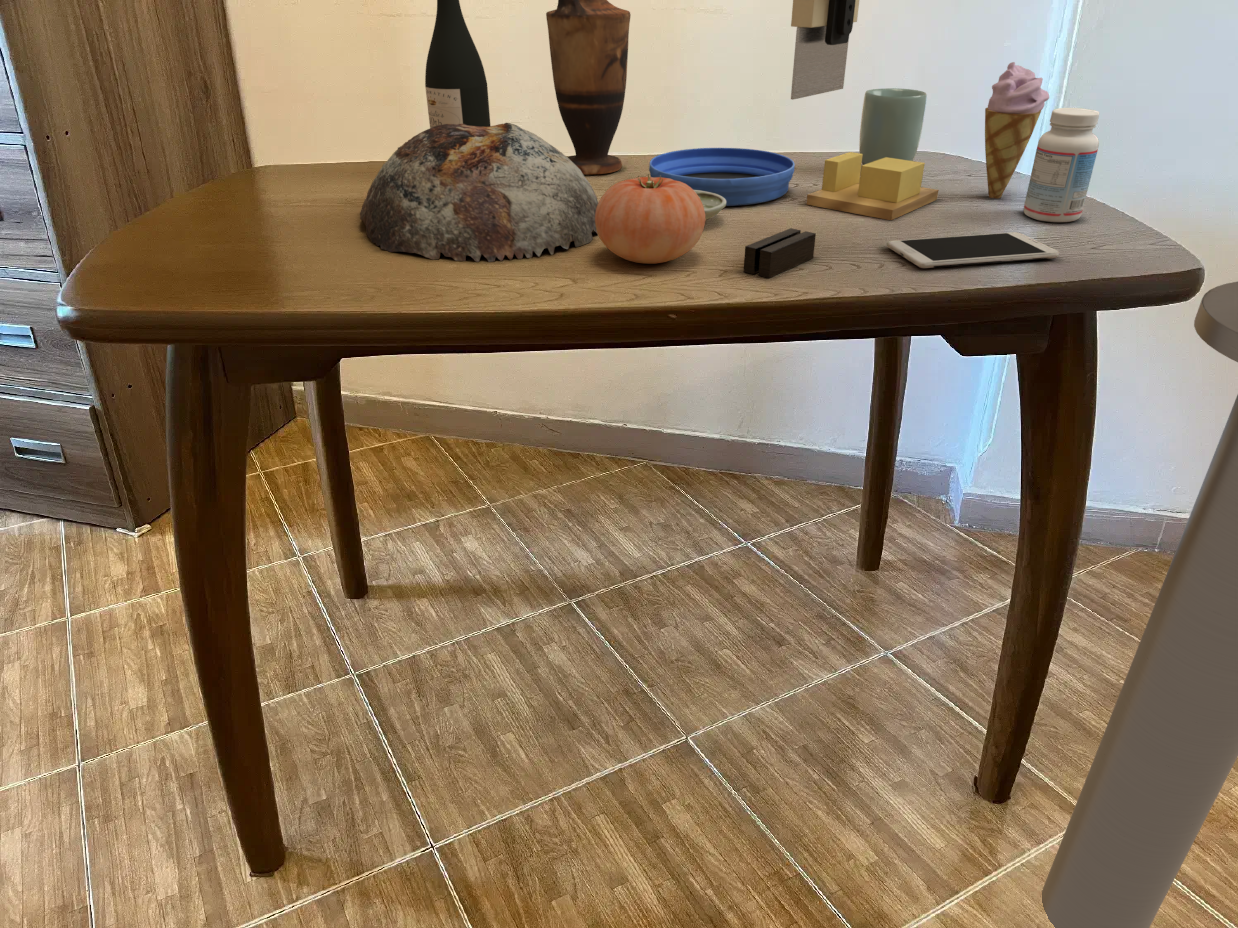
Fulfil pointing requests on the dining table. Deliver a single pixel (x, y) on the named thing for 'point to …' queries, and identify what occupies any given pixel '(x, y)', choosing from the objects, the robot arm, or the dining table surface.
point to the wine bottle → (455, 72)
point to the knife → (816, 51)
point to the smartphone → (971, 249)
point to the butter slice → (841, 171)
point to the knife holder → (779, 252)
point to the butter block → (890, 179)
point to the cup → (891, 124)
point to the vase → (590, 76)
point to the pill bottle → (1063, 166)
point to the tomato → (650, 219)
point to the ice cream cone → (1010, 123)
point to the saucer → (711, 203)
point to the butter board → (869, 202)
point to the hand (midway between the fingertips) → (823, 41)
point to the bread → (478, 195)
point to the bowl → (728, 172)
